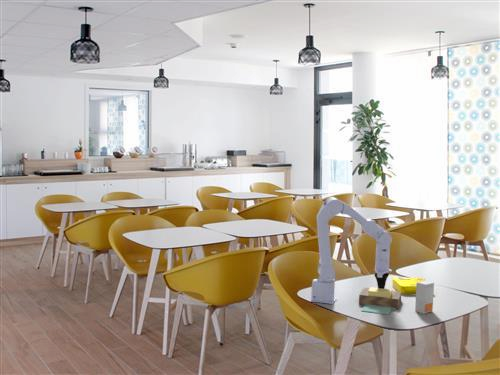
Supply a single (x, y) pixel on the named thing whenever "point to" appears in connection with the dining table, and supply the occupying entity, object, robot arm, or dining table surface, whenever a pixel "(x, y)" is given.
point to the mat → (376, 309)
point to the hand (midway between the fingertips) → (381, 290)
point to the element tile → (406, 285)
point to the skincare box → (424, 297)
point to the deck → (380, 299)
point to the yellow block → (380, 292)
